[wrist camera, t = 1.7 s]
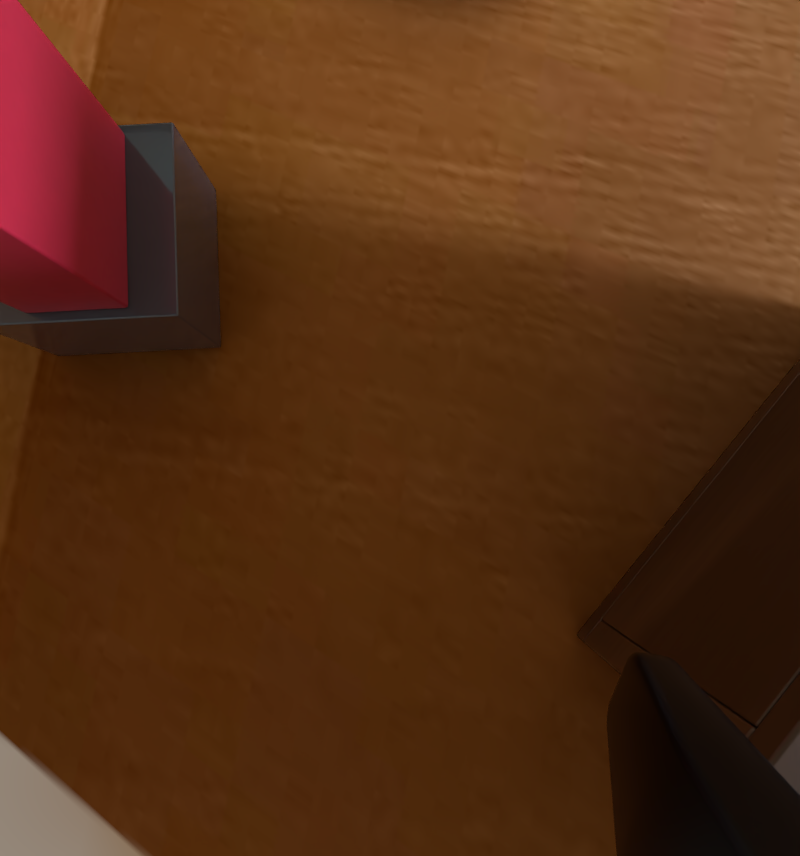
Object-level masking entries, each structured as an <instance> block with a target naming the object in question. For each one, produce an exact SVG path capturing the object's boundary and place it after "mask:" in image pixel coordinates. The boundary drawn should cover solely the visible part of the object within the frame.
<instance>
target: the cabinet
mask: <svg viewBox="0 0 800 856" xmlns="http://www.w3.org/2000/svg"><path fill="white" fill-rule="evenodd" d="M577 636H578V637H579V638H580V639H581V640H582V641H583V642H585V643H586V644H587V645H588V646H589V647H590V648H591V649H593V650H594V651H595V652H596V653H597V654H598V655H599V656H600V657H602V658H603V659H604V660H605V661H606V662H607V663H608V664H610V665H611V666H612V667H613V668H614V669H615V670H616V671H617V672H619V673H620V674H621V673H622V671H623V668H624V666H625V663H626V661H627V659H628V657H629V656H630V655H631V654H632V653H634V652H644V653H650V654H656V655H662V656H667V657H670V658H672V659H673V660H675V661H676V662H677V663H678V664H679V665H680V666H681V667H682V668H683V669H684V670H685V672H686V673H687V674H688V675H689V676H690V677H691V678H692V679H693V680H694V681H695V682H696V683H697V684H698V686H699V687H700V688H701V689H702V690H703V691H704V692H705V693H706V694H707V695H708V696H709V697H710V698H711V700H712V701H713V702H714V703H715V704H716V705H717V706H718V707H719V708H720V709H721V710H722V711H723V713H724V714H725V715H726V716H727V717H728V718H729V719H730V720H731V721H732V722H733V723H734V724H735V725H736V727H737V728H738V729H739V730H740V731H741V732H742V733H743V734H744V735H745V736H746V737H747V738H748V739H749V741H750V742H751V743H752V744H753V745H754V746H755V747H756V748H757V749H758V750H759V751H760V752H761V753H762V755H763V756H764V757H765V758H766V759H767V760H768V761H769V762H770V763H771V764H772V765H773V766H774V767H775V769H776V770H777V771H778V772H779V773H780V774H781V775H782V776H783V777H784V778H785V779H786V780H787V782H788V783H789V784H790V785H791V786H792V787H793V788H794V789H795V790H796V791H797V792H798V793H799V794H800V359H799V360H798V361H797V363H796V364H795V365H794V366H793V368H792V369H791V370H790V371H789V373H788V374H787V375H786V376H785V378H784V379H783V380H782V381H781V382H780V384H779V385H778V386H777V387H776V389H775V390H774V391H773V392H772V394H771V395H770V396H769V397H768V399H767V400H766V401H765V402H764V404H763V405H762V406H761V407H760V408H759V410H758V411H757V412H756V413H755V415H754V416H753V417H752V418H751V420H750V421H749V422H748V423H747V425H746V426H745V427H744V428H743V429H742V431H741V432H740V433H739V434H738V436H737V437H736V438H735V439H734V441H733V442H732V443H731V444H730V446H729V447H728V448H727V449H726V451H725V452H724V453H723V454H722V455H721V457H720V458H719V459H718V460H717V462H716V463H715V464H714V465H713V467H712V468H711V469H710V470H709V472H708V473H707V474H706V475H705V476H704V478H703V479H702V480H701V481H700V483H699V484H698V485H697V486H696V488H695V489H694V490H693V491H692V493H691V494H690V495H689V496H688V498H687V499H686V500H685V501H684V502H683V504H682V505H681V506H680V507H679V509H678V510H677V511H676V512H675V514H674V515H673V516H672V517H671V519H670V520H669V521H668V522H667V523H666V525H665V526H664V527H663V528H662V530H661V531H660V532H659V533H658V535H657V536H656V537H655V538H654V540H653V541H652V542H651V543H650V544H649V546H648V547H647V548H646V549H645V551H644V552H643V553H642V554H641V556H640V557H639V558H638V559H637V561H636V562H635V563H634V564H633V566H632V567H631V568H630V569H629V570H628V572H627V573H626V574H625V575H624V577H623V578H622V579H621V580H620V582H619V583H618V584H617V585H616V587H615V588H614V589H613V590H612V591H611V593H610V594H609V595H608V596H607V598H606V599H605V600H604V601H603V603H602V604H601V605H600V606H599V608H598V609H597V610H596V611H595V613H594V614H593V615H592V616H591V617H590V619H589V620H588V621H587V622H586V624H585V625H584V626H583V627H582V629H581V630H580V631H579V632H578V634H577Z"/></svg>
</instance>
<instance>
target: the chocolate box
mask: <svg viewBox="0 0 800 856" xmlns="http://www.w3.org/2000/svg"><path fill="white" fill-rule="evenodd" d="M0 302H2V303H4V304H6V305H9V306H11V307H13V308H15V309H18V310H20V311H22V312H24V313H37V312H56V311H75V310H93V309H112V308H126V307H128V271H127V224H126V177H125V135H124V133H123V132H122V130H121V129H120V128H119V127H118V125H117V124H116V123H115V122H114V120H113V119H112V118H111V117H110V115H109V114H108V113H107V112H106V110H105V109H104V108H103V107H102V105H101V104H100V103H99V102H98V100H97V99H96V98H95V97H94V95H93V94H92V93H91V92H90V90H89V89H88V88H87V87H86V85H85V84H84V83H83V82H82V80H81V79H80V78H79V77H78V75H77V74H76V73H75V72H74V70H73V69H72V68H71V67H70V65H69V64H68V63H67V62H66V60H65V59H64V58H63V57H62V55H61V54H60V53H59V52H58V50H57V49H56V48H55V47H54V45H53V44H52V43H51V42H50V40H49V39H48V38H47V37H46V35H45V34H44V33H43V32H42V30H41V29H40V28H39V27H38V25H37V24H36V23H35V22H34V20H33V19H32V18H31V17H30V15H29V14H28V13H27V12H26V10H25V9H24V8H23V7H22V5H21V4H20V3H19V2H18V0H0Z"/></svg>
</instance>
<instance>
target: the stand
mask: <svg viewBox="0 0 800 856" xmlns="http://www.w3.org/2000/svg"><path fill="white" fill-rule="evenodd" d="M118 127H119V128H120V129H121V130H122V132H123V133H124V135H125V177H126V224H127V271H128V307H126V308H112V309H93V310H75V311H56V312H37V313H24V312H22V311H20V310H18V309H15V308H13V307H11V306H9V305H6V304H4V303H2V302H0V335H3V336H6V337H8V338H11V339H14V340H17V341H19V342H22V343H25V344H28V345H30V346H33V347H36V348H38V349H41V350H44V351H47V352H49V353H52V354H55V355H58V356H67V355H86V354H105V353H124V352H143V351H162V350H181V349H200V348H219V347H221V335H220V304H219V273H218V242H217V211H216V190H215V188H214V186H213V185H212V183H211V182H210V180H209V179H208V177H207V175H206V174H205V172H204V171H203V169H202V168H201V166H200V164H199V163H198V161H197V160H196V158H195V157H194V155H193V154H192V152H191V150H190V149H189V147H188V146H187V144H186V143H185V141H184V140H183V138H182V136H181V135H180V133H179V132H178V130H177V129H176V127H175V125H174V124H173V123H154V124H135V125H118Z"/></svg>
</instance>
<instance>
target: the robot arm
mask: <svg viewBox="0 0 800 856" xmlns="http://www.w3.org/2000/svg"><path fill="white" fill-rule="evenodd" d="M607 733H608V747H609V760H610V773H611V786H612V799H613V813H614V826H615V839H616V851H617V856H800V794H799V793H798V792H797V791H796V790H795V789H794V788H793V787H792V786H791V785H790V784H789V783H788V782H787V780H786V779H785V778H784V777H783V776H782V775H781V774H780V773H779V772H778V771H777V770H776V769H775V767H774V766H773V765H772V764H771V763H770V762H769V761H768V760H767V759H766V758H765V757H764V756H763V755H762V753H761V752H760V751H759V750H758V749H757V748H756V747H755V746H754V745H753V744H752V743H751V742H750V741H749V739H748V738H747V737H746V736H745V735H744V734H743V733H742V732H741V731H740V730H739V729H738V728H737V727H736V725H735V724H734V723H733V722H732V721H731V720H730V719H729V718H728V717H727V716H726V715H725V714H724V713H723V711H722V710H721V709H720V708H719V707H718V706H717V705H716V704H715V703H714V702H713V701H712V700H711V698H710V697H709V696H708V695H707V694H706V693H705V692H704V691H703V690H702V689H701V688H700V687H699V686H698V684H697V683H696V682H695V681H694V680H693V679H692V678H691V677H690V676H689V675H688V674H687V673H686V672H685V670H684V669H683V668H682V667H681V666H680V665H679V664H678V663H677V662H676V661H675V660H673V659H672V658H670V657H667V656H662V655H656V654H650V653H644V652H634V653H632V654H631V655H630V656H629V657H628V659H627V661H626V663H625V666H624V668H623V671H622V673H621V676H620V678H619V681H618V683H617V686H616V688H615V691H614V693H613V696H612V698H611V701H610V704H609V707H608V714H607Z"/></svg>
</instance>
